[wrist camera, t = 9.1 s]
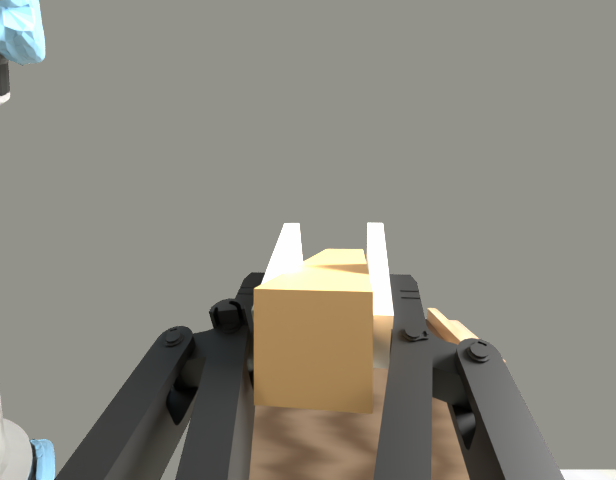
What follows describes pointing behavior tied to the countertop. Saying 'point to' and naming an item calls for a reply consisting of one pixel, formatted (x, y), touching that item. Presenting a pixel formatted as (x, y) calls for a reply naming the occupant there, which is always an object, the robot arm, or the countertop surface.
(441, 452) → the brown patterned box
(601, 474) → the countertop surface
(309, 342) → the bar
